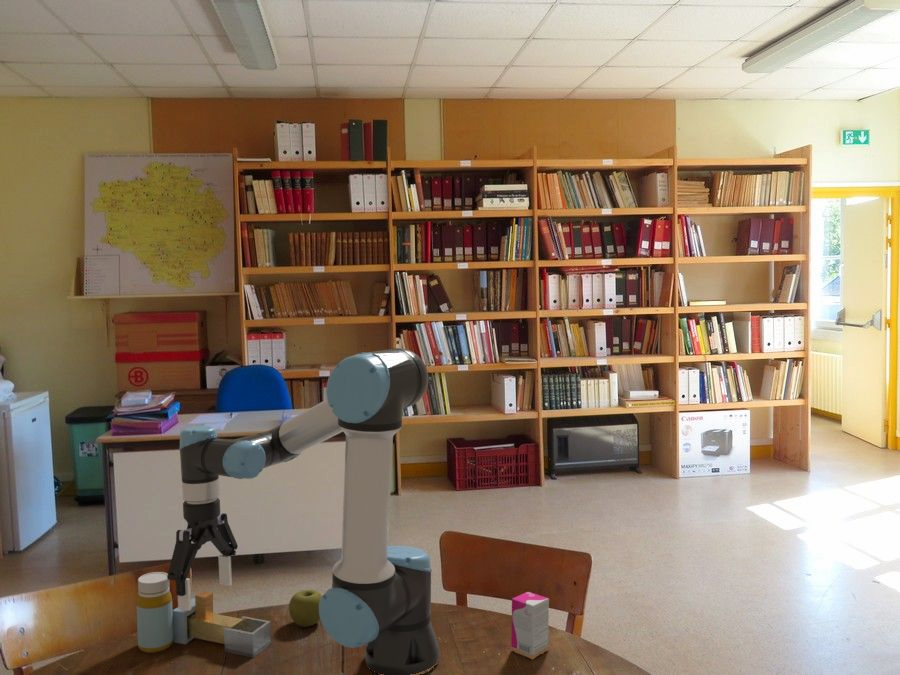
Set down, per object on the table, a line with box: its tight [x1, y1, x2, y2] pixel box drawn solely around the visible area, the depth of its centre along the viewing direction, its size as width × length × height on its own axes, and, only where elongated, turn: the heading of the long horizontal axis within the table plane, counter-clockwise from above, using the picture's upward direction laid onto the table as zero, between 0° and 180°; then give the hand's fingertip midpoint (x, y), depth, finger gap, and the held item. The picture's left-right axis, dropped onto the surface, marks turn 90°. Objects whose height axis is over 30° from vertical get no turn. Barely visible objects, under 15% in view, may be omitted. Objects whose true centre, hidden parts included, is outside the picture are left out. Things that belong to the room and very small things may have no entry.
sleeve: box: [224, 616, 272, 659], centre depth 166 cm, size 7×6×5 cm
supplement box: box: [510, 591, 550, 655], centre depth 164 cm, size 6×6×12 cm
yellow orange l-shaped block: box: [187, 590, 244, 645], centre depth 168 cm, size 13×4×9 cm, turn 69°
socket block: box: [172, 597, 195, 645], centre depth 171 cm, size 3×7×7 cm, turn 159°
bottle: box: [136, 571, 174, 654], centre depth 166 cm, size 7×7×15 cm
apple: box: [288, 589, 323, 628], centre depth 177 cm, size 8×8×7 cm
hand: (206, 596), depth 169 cm, fingers open, 13 cm apart
